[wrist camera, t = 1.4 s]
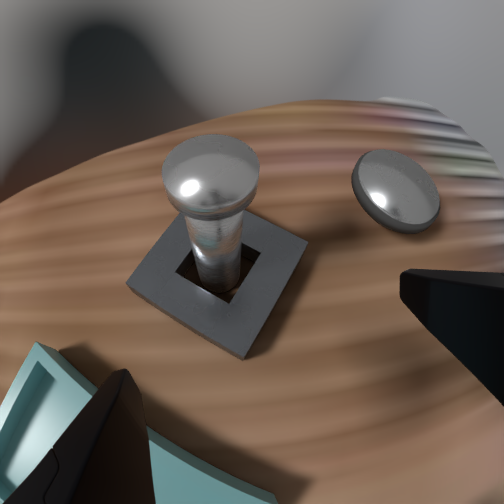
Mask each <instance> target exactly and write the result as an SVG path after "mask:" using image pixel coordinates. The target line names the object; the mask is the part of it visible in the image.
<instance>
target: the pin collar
mask: <svg viewBox="0 0 504 504" xmlns="http://www.w3.org/2000/svg"><path fill="white" fill-rule="evenodd" d="M307 245H308V242H307V241H305V240H303V239H301V238H300V237H298V236H296V235H294V234H292V233H290V232H288V231H286V230H284V229H282V228H280V227H278V226H276V225H274V224H272V223H270V222H268V221H266V220H264V219H262V218H260V217H258V216H256V215H254V214H252V213H250V212H248V211H246V210H243V225H242V242H241V255H243V256H245V257H246V258H248V259H250V260H252V261H254V262H255V264H254V265H253V267H252V268H251V270H250V272H249V273H248V275H247V276H246V278H245V280H244V281H243V283H242V284H241V286H240V288H239V289H238V291H237V292H236V294H235V296H234V297H233V299H232V300H231V302H230V303H229V304H228V303H226V302H225V301H223V300H221V299H219V298H218V297H216V296H214V295H212V294H211V293H209V292H207V291H206V290H204V289H202V288H200V287H199V286H197V285H195V284H194V283H192V282H190V281H189V280H187V279H185V278H184V277H183V276H184V275H185V273H186V272H187V270H188V269H189V268H190V266H191V265H192V263H193V262H194V261H195V258H194V254H193V250H192V246H191V242H190V238H189V233H188V229H187V225H186V220H185V216H184V215H183V214H181V213H179V215H178V216H177V217H176V218H175V220H174V221H173V222H172V223H171V225H170V226H169V227H168V228H167V229H166V231H165V232H164V233H163V234H162V236H161V237H160V238H159V240H158V241H157V242H156V243H155V245H154V246H153V247H152V249H151V250H150V251H149V252H148V254H147V255H146V256H145V258H144V259H143V260H142V262H141V263H140V264H139V265H138V267H137V268H136V269H135V271H134V272H133V274H132V275H131V276H130V278H129V279H128V280H127V282H126V284H127V285H128V287H129V288H130V289H131V290H132V291H133V293H135V294H136V295H138V296H139V297H141V298H142V299H144V300H145V301H146V302H148V303H149V304H151V305H152V306H154V307H155V308H157V309H158V310H160V311H161V312H163V313H164V314H166V315H168V316H169V317H171V318H172V319H174V320H175V321H177V322H178V323H180V324H182V325H183V326H185V327H186V328H188V329H189V330H191V331H193V332H194V333H196V334H198V335H199V336H201V337H203V338H204V339H206V340H207V341H209V342H211V343H213V344H214V345H216V346H218V347H219V348H221V349H223V350H224V351H226V352H228V353H230V354H231V355H233V356H235V357H237V358H238V359H240V360H242V361H243V360H244V358H245V357H246V355H247V353H248V352H249V350H250V348H251V346H252V345H253V343H254V341H255V340H256V338H257V336H258V334H259V333H260V331H261V329H262V328H263V326H264V324H265V322H266V321H267V319H268V317H269V315H270V314H271V312H272V310H273V308H274V306H275V305H276V303H277V301H278V299H279V298H280V296H281V294H282V292H283V290H284V289H285V287H286V285H287V283H288V281H289V279H290V278H291V276H292V274H293V272H294V270H295V268H296V267H297V265H298V263H299V261H300V259H301V257H302V255H303V253H304V251H305V249H306V247H307Z"/></svg>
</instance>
